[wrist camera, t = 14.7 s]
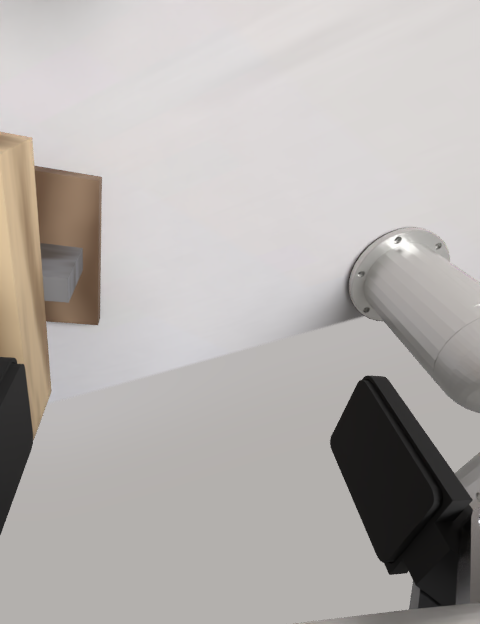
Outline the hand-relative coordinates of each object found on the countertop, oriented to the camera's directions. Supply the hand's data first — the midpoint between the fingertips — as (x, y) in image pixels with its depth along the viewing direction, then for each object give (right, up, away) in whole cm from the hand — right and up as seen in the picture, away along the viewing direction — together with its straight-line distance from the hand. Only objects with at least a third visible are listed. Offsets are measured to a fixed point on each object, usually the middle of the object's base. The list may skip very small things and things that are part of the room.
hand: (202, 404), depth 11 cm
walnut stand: (-19, +9, +27) cm, 34 cm away
